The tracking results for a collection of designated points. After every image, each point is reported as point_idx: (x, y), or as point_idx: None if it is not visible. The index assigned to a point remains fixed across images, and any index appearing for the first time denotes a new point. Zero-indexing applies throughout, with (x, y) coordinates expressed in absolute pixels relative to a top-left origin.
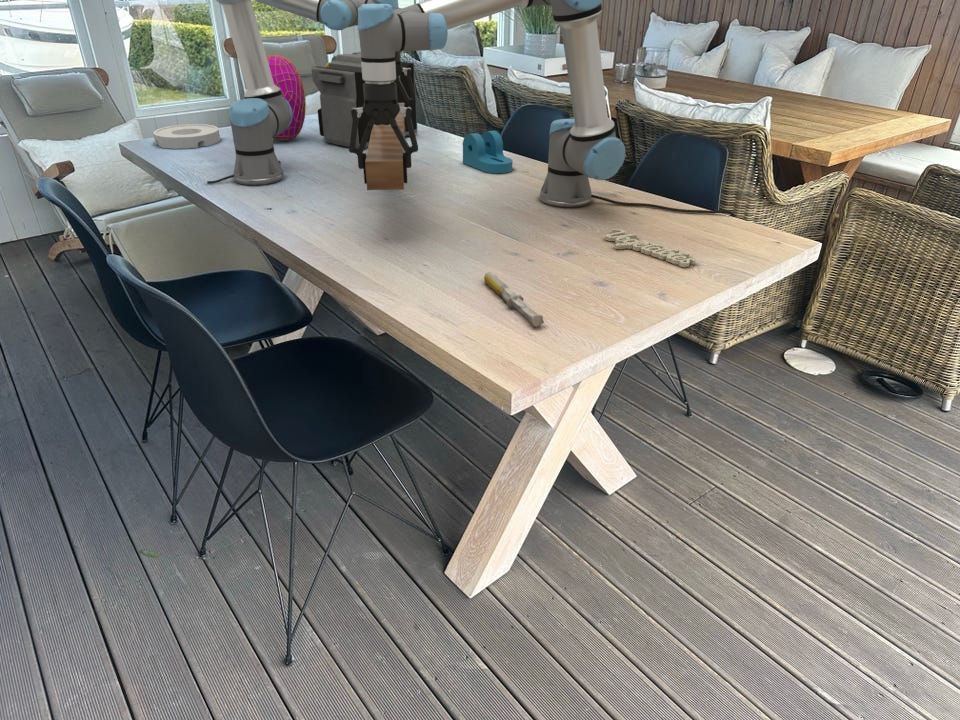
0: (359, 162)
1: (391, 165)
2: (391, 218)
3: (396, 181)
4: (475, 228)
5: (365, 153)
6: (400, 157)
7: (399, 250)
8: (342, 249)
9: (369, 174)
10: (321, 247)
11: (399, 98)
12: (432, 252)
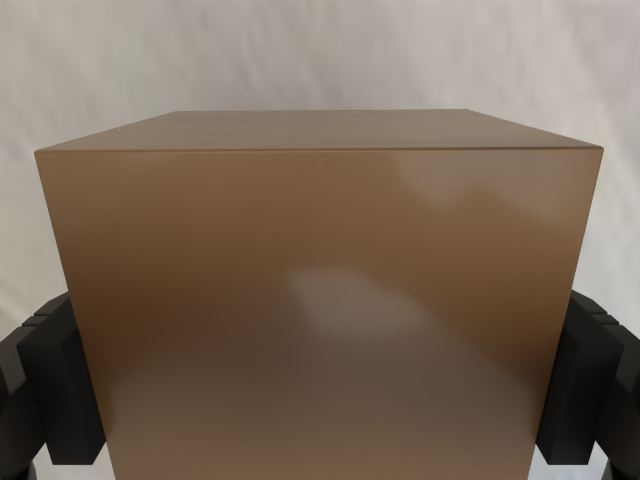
0: (604, 325)
1: (220, 140)
2: None
3: (215, 118)
4: (12, 277)
5: (560, 451)
6: (109, 336)
7: (278, 55)
8: (510, 81)
9: (483, 124)
10: (591, 109)
11: None
12: (138, 22)
